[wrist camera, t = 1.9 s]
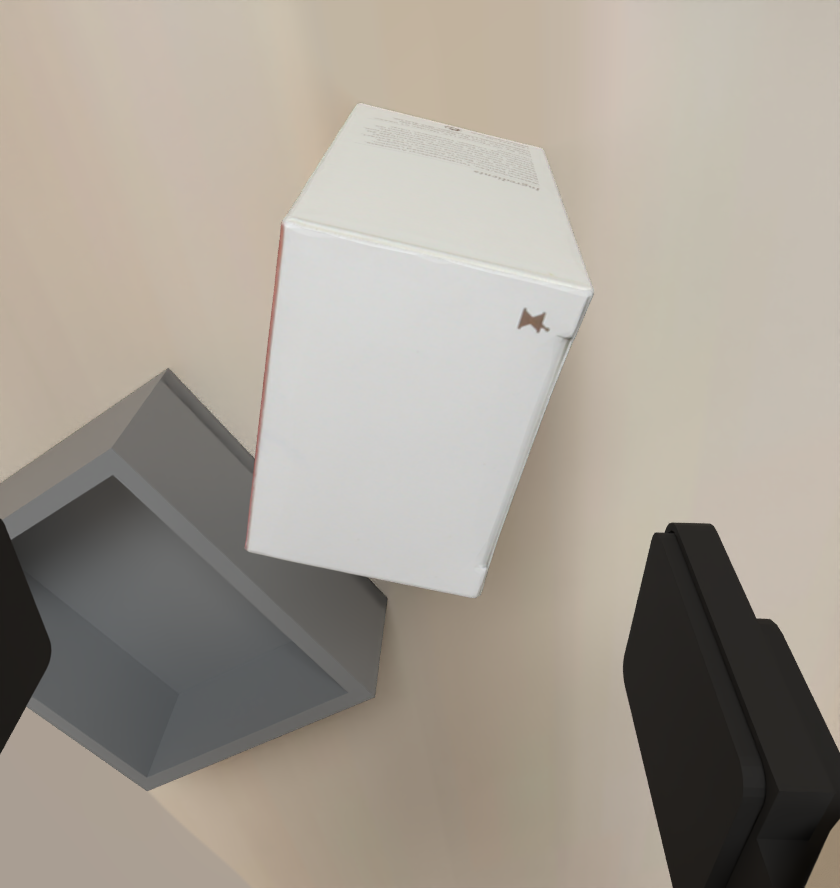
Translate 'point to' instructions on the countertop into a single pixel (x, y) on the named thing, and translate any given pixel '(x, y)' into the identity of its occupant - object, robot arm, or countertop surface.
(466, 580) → the small box
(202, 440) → the crate
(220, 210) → the countertop surface
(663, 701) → the robot arm
